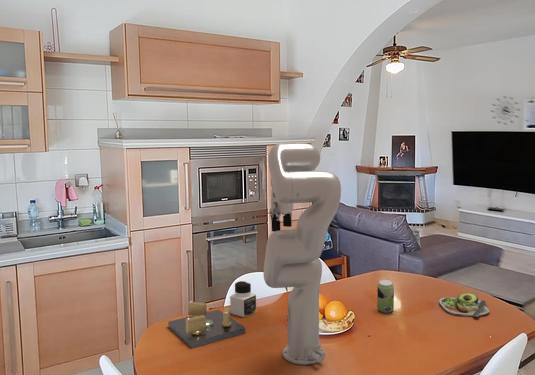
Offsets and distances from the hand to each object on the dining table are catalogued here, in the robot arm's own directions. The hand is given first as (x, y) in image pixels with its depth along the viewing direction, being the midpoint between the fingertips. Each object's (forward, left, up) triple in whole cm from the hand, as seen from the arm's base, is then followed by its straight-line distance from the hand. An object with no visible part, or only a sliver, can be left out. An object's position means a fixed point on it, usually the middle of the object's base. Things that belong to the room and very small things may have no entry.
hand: (281, 228), depth 167 cm
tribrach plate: (+6, +29, -33) cm, 44 cm away
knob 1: (+1, +35, -31) cm, 46 cm away
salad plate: (-33, -62, -34) cm, 78 cm away
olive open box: (+13, +29, -31) cm, 44 cm away
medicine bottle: (+12, +10, -34) cm, 37 cm away
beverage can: (-18, -35, -34) cm, 52 cm away
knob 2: (+1, +23, -31) cm, 39 cm away
